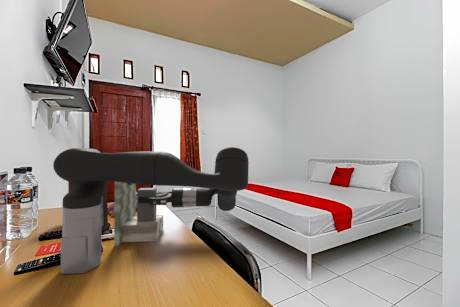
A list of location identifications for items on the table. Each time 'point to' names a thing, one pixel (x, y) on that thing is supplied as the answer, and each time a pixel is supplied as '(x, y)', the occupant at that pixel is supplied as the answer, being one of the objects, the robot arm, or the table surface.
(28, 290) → the table surface
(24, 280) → the table surface
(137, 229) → the wall shelf
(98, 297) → the table surface
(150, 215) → the dark grey block
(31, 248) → the table surface
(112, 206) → the video game controller
